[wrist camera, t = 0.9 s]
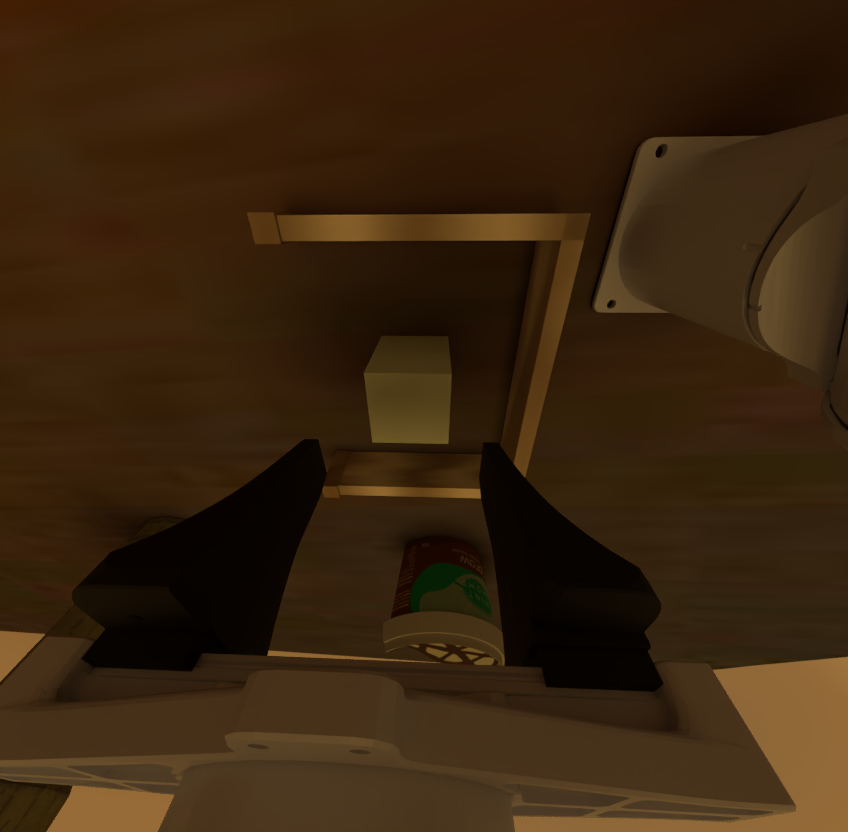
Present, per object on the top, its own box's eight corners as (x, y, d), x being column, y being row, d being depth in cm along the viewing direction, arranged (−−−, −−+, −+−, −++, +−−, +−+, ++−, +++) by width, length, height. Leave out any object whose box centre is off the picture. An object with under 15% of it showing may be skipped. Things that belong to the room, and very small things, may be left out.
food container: (514, 557, 34) (540, 669, 25) (478, 580, 37) (490, 686, 28) (427, 512, 30) (423, 625, 22) (394, 541, 33) (379, 650, 24)
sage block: (448, 336, 20) (451, 374, 15) (445, 394, 23) (448, 443, 18) (382, 335, 20) (363, 373, 15) (386, 393, 23) (372, 442, 18)
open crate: (559, 212, 16) (593, 210, 13) (508, 464, 26) (519, 502, 23) (287, 214, 17) (246, 212, 13) (339, 460, 27) (324, 497, 23)
